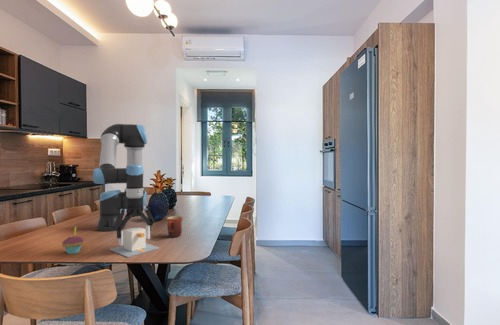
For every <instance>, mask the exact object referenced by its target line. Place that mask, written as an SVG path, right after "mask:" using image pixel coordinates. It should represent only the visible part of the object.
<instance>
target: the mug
mask: <svg viewBox="0 0 500 325" xmlns="http://www.w3.org/2000/svg"><path fill="white" fill-rule="evenodd" d="M183 219H184V217H183V216H179V215H178V216H177V215H175V216H174V215H173V216H168V217H166V220H167V234H168V237H170V238H179V237H181V236H182V232H183V231H182V230H183V229H182V228H183V227H182V226H183V225H182V222H183Z"/></svg>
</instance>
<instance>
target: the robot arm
mask: <svg viewBox="0 0 500 325" xmlns="http://www.w3.org/2000/svg"><path fill="white" fill-rule="evenodd" d="M99 139H100V144H101V147H100V148H101V149H100V154H99V155H100V156H99V163H98V164H99V165H98V168H94V169H93V171H92V181H93V183H94V184H96V185H97V184H100V185H108V184H125V185H126V187H125V188H124V191H122V190H121V189H114V190H107V191H104V192H101V193H100V195H99V218H98V221H97V224H96V231H99V232H113V231H115V232H116V238H117V239H118V245H119V246H120V247H121V246H124V228H125V226H126V225H127V223H129V221H130V220H131V219H132V218H135V217H140V218H141V219H142V220H143V221H144V223H146V225H145V229H146V240H151V232H152V226H153V224H156V221H155V220H154V218H153V216H152V214H151V212H150V210H149V206H148V204H147V195H148V194H147V191H146V190H145V188H144V167H143V149H144V148H145V146H146V145H148V140H147V133H146V127H145V126H144V125H142V124H132V123H130V124H126V123H125V124H123V123H115V124H112V125H110V126H108V127H107V128H106V129H105V130H103V131H102V133H101V135H100V138H99ZM119 144H123V147H124V148H125V149H126V167H125V168H123V167H122V168H121V167H120V168H119V167H116V166H117V150H118V145H119ZM146 204H147V205H146ZM143 211H144V212H145V213H143ZM145 214H146V215H145Z"/></svg>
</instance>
